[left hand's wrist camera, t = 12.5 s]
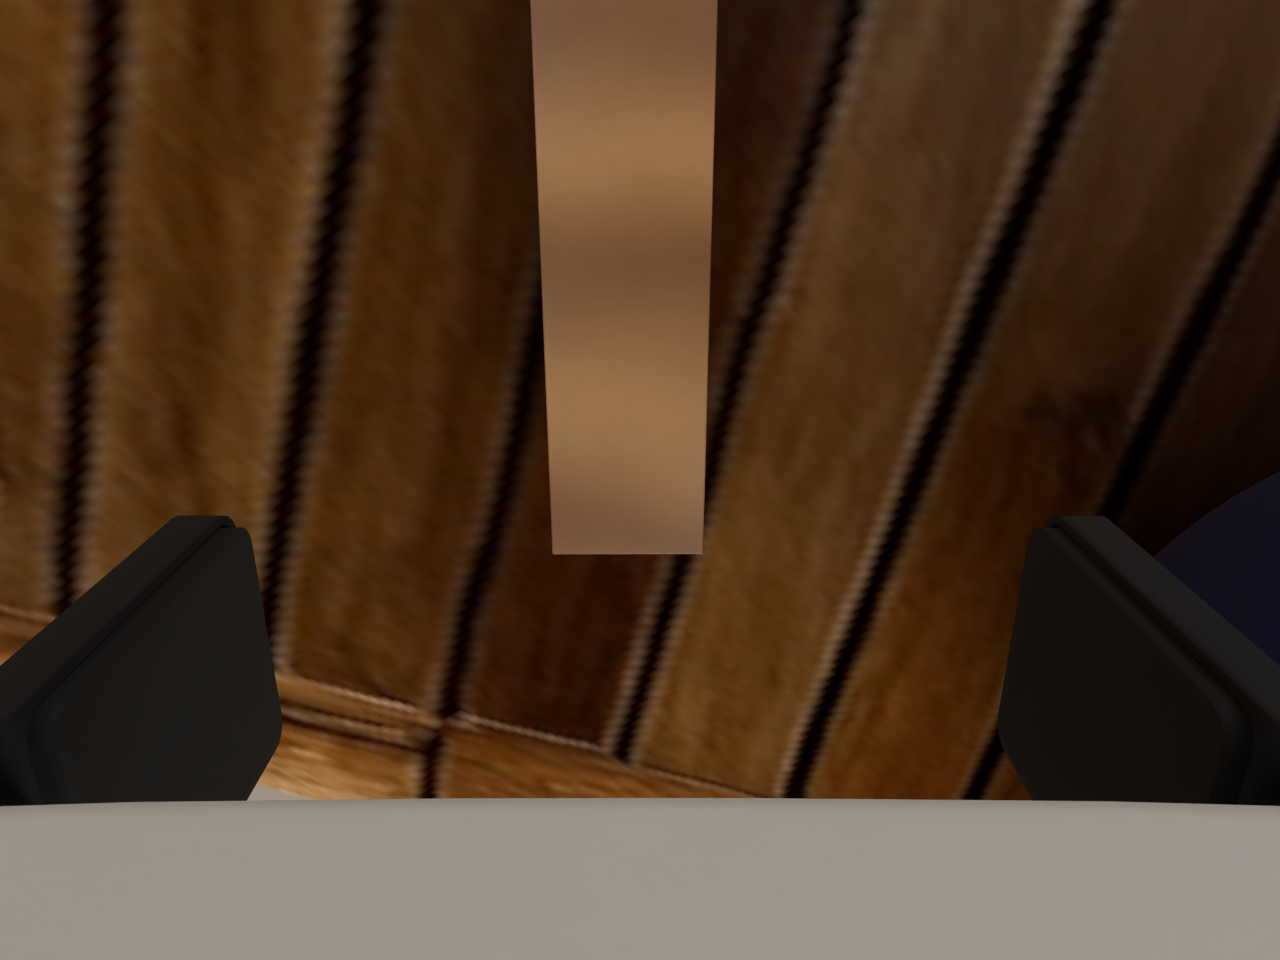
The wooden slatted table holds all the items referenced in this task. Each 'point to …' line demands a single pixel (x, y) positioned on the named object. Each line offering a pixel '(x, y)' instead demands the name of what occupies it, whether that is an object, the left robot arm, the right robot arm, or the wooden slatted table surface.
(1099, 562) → the left robot arm
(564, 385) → the post
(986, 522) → the wooden slatted table surface
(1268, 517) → the globe
